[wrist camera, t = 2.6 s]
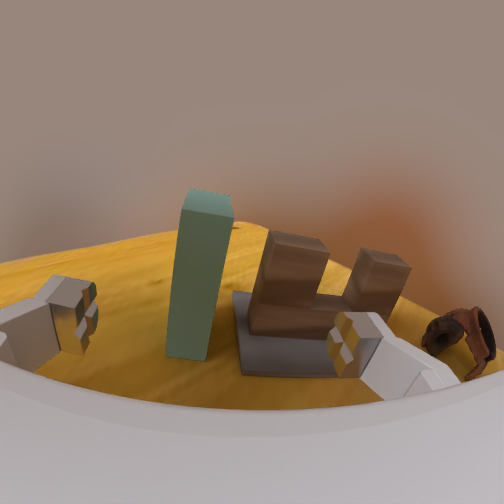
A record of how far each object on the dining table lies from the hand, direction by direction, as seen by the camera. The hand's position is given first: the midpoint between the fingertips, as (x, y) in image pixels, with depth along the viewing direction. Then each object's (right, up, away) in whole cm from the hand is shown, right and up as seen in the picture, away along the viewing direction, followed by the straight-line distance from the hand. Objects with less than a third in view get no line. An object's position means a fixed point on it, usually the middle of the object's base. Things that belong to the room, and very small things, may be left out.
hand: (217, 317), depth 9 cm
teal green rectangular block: (-5, -5, +15) cm, 17 cm away
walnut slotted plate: (+7, -6, +19) cm, 22 cm away
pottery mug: (+25, -11, +19) cm, 33 cm away
